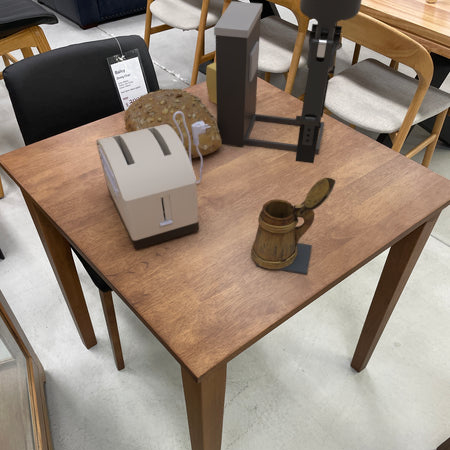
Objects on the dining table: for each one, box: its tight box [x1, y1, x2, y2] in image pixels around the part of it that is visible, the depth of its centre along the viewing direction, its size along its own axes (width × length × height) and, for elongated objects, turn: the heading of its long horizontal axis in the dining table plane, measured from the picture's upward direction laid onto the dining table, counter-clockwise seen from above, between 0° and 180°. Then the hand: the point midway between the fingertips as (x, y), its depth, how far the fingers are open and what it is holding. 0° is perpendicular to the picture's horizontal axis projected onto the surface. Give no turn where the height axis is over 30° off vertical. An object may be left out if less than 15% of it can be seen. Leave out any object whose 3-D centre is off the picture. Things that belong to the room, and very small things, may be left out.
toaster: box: [95, 111, 211, 250], centre depth 92 cm, size 23×25×17 cm
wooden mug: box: [250, 177, 337, 270], centre depth 81 cm, size 9×14×18 cm, turn 86°
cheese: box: [205, 61, 217, 105], centre depth 125 cm, size 10×11×10 cm
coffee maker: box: [213, 0, 325, 155], centre depth 107 cm, size 26×17×28 cm, turn 76°
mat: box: [255, 242, 313, 276], centre depth 88 cm, size 10×8×1 cm
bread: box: [123, 88, 223, 159], centre depth 110 cm, size 24×21×12 cm
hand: (309, 137), depth 69 cm, fingers open, 13 cm apart
